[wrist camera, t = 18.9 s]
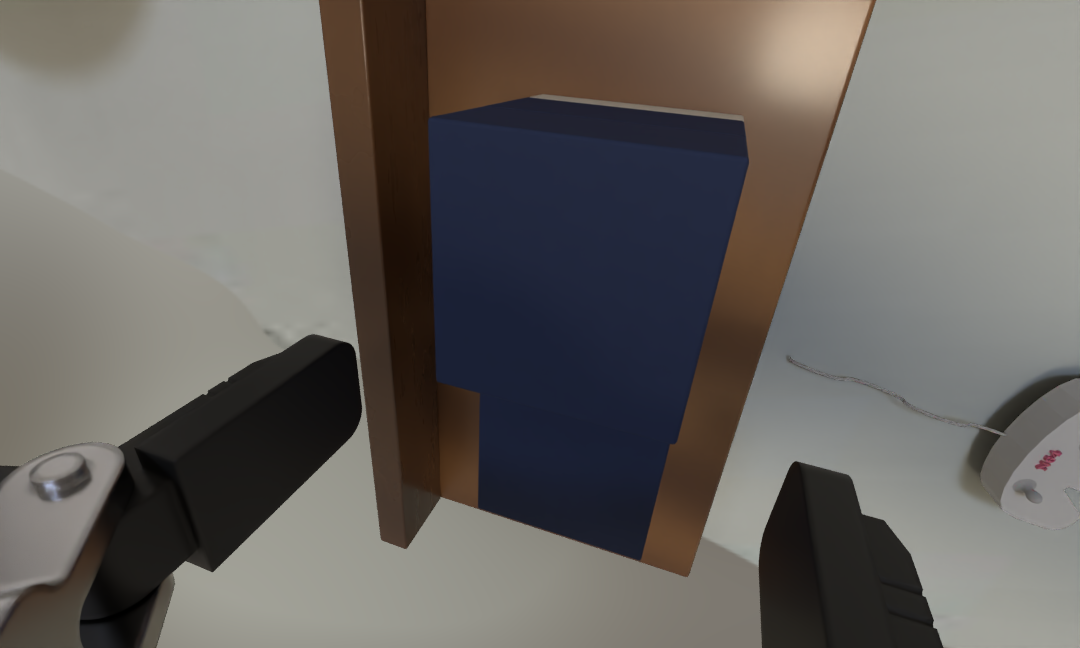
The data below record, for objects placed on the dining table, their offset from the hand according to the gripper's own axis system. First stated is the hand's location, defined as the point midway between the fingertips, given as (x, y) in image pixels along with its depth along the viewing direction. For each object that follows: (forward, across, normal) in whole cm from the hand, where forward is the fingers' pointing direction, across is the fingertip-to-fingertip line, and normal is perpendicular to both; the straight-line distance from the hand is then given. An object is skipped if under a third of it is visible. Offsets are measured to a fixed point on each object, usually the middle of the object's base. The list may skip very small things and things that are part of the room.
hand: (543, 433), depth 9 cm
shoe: (+5, 0, 0) cm, 5 cm away
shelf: (+12, +1, 0) cm, 12 cm away
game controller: (+13, -12, +4) cm, 18 cm away
